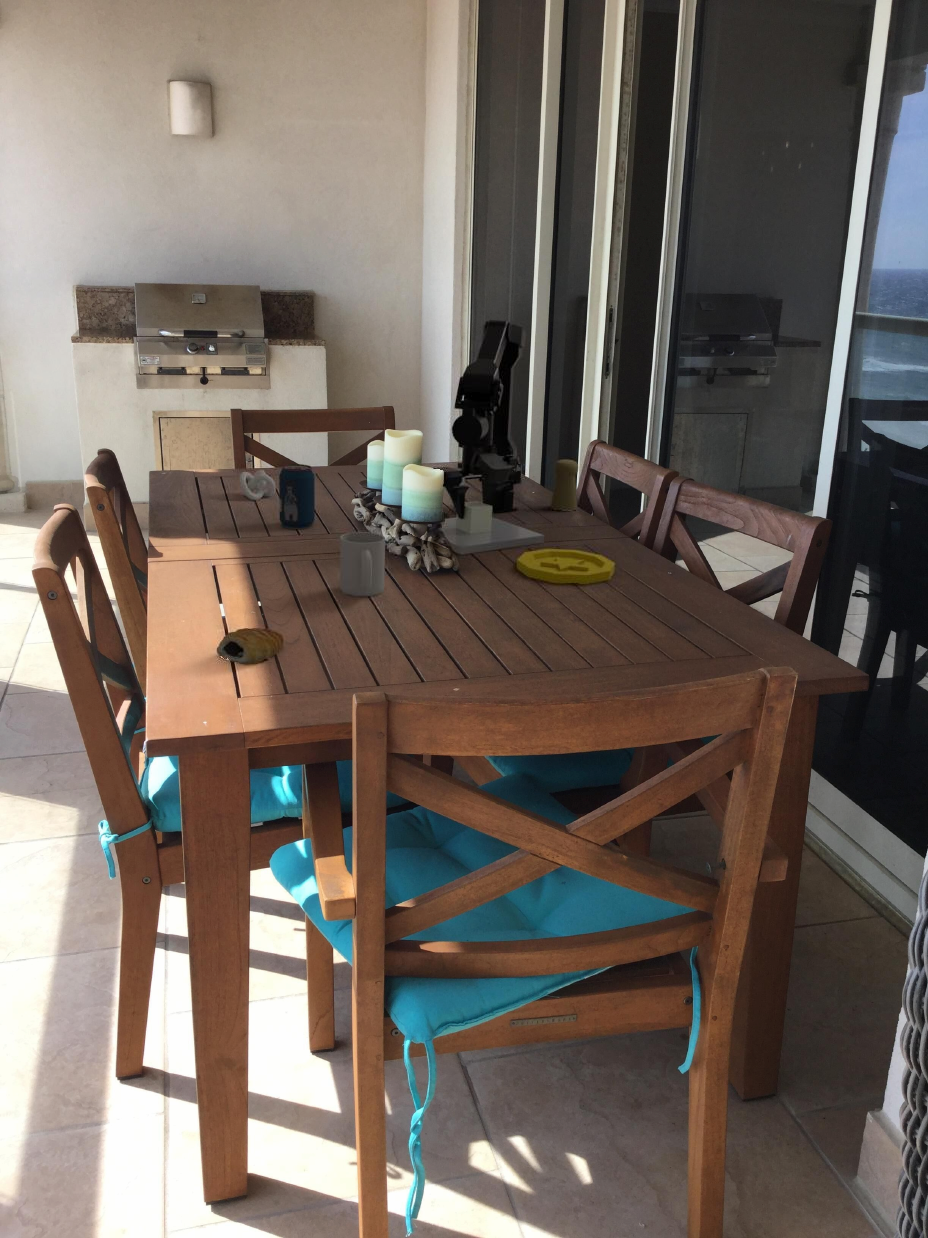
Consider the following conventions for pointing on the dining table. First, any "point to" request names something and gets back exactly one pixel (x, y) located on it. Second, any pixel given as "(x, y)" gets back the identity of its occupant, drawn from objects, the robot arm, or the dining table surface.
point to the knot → (256, 485)
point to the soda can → (297, 496)
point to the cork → (565, 486)
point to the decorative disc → (565, 566)
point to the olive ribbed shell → (250, 645)
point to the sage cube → (475, 518)
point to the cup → (362, 563)
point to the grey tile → (489, 537)
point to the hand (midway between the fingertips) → (473, 517)
